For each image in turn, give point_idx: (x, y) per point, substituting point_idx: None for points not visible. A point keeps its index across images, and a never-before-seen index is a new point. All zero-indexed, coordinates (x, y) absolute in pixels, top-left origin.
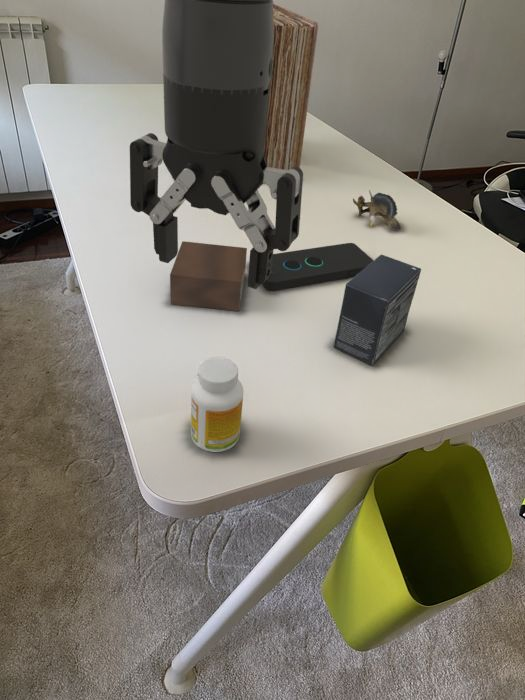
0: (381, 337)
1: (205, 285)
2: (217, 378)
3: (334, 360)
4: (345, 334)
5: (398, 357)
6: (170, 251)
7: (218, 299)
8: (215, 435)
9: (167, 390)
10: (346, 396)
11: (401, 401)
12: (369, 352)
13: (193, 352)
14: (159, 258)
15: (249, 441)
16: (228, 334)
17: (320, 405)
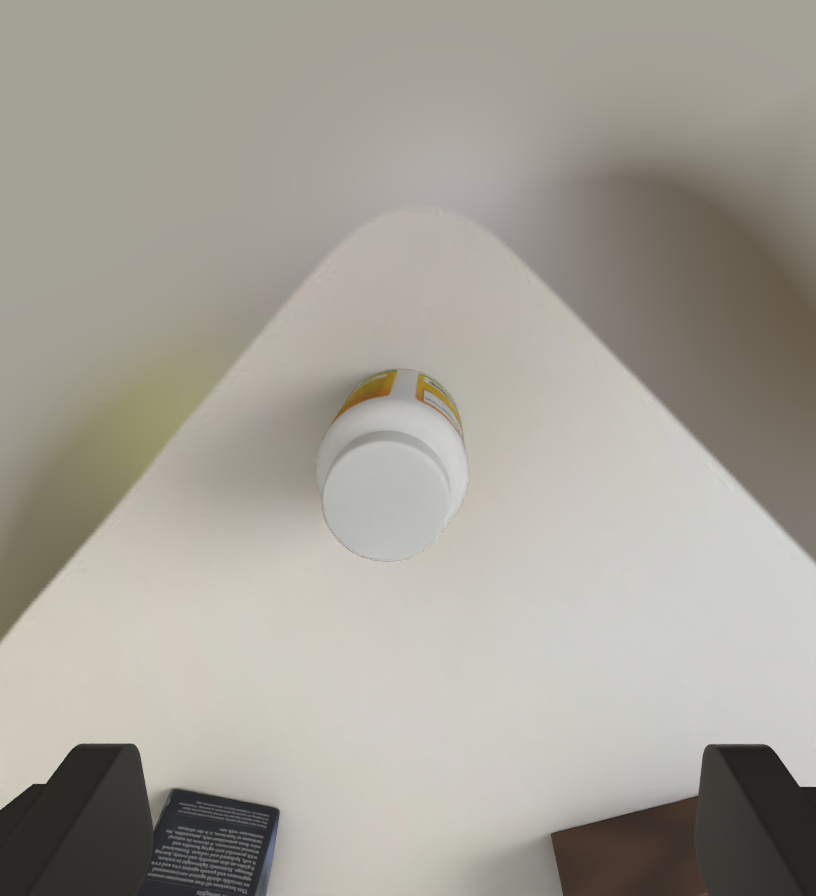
0: None
1: (665, 876)
2: (365, 462)
3: (259, 770)
4: (239, 850)
5: None
6: (731, 838)
7: (614, 847)
8: (368, 385)
9: (582, 503)
10: (184, 673)
11: (70, 711)
12: (173, 819)
13: (587, 651)
14: (772, 753)
15: (319, 446)
16: (535, 746)
17: (224, 622)
